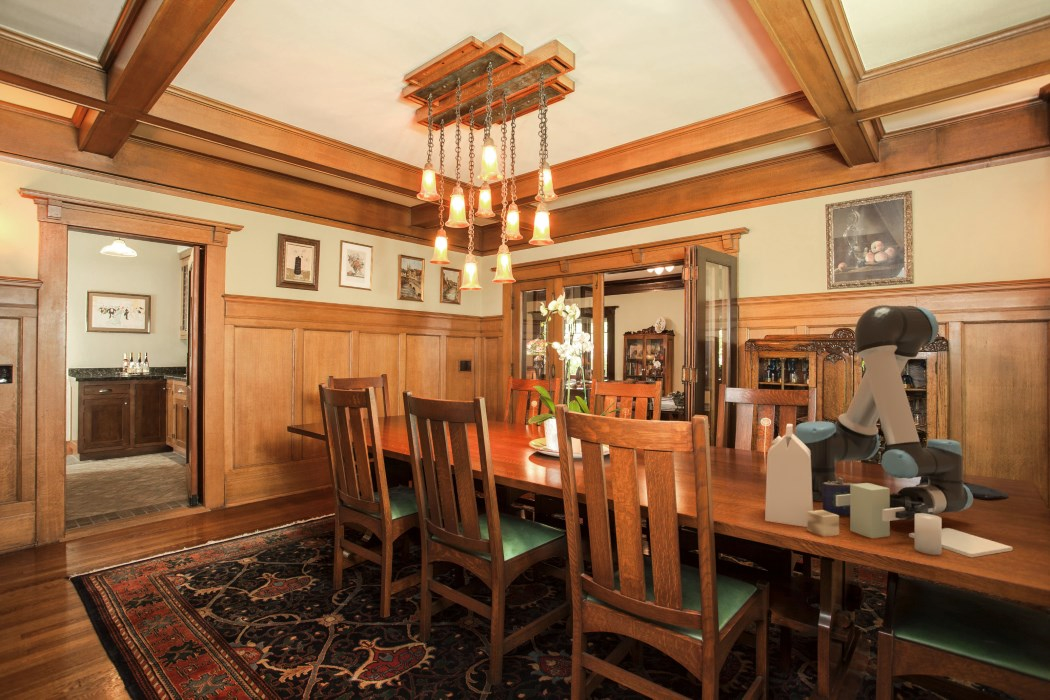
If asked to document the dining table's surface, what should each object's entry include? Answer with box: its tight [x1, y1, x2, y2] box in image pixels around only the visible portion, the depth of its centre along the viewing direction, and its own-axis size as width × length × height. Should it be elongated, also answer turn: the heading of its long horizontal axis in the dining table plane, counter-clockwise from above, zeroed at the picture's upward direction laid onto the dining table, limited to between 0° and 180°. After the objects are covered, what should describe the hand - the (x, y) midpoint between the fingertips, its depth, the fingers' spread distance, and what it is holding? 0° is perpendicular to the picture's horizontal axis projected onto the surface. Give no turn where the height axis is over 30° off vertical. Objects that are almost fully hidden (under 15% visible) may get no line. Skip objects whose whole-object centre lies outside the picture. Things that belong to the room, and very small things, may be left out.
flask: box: [822, 476, 855, 517], centre depth 149 cm, size 9×3×11 cm, turn 88°
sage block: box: [849, 482, 891, 539], centre depth 134 cm, size 6×6×12 cm
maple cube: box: [807, 509, 840, 538], centre depth 135 cm, size 5×5×5 cm
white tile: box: [908, 527, 1013, 559], centre depth 127 cm, size 14×14×1 cm
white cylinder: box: [914, 513, 943, 556], centre depth 123 cm, size 5×5×8 cm
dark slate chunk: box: [915, 476, 1010, 500], centre depth 175 cm, size 15×22×5 cm
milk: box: [764, 423, 814, 528], centre depth 147 cm, size 12×12×26 cm
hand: (859, 507), depth 133 cm, fingers open, 12 cm apart
